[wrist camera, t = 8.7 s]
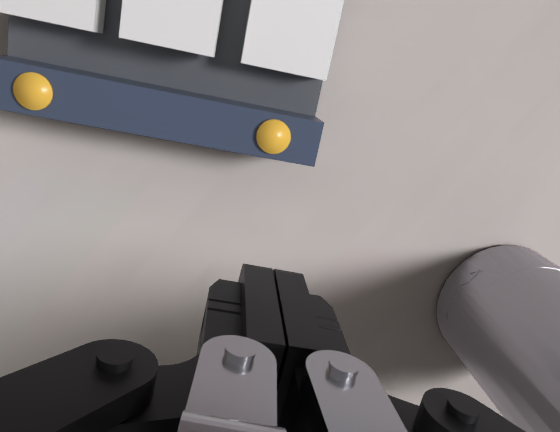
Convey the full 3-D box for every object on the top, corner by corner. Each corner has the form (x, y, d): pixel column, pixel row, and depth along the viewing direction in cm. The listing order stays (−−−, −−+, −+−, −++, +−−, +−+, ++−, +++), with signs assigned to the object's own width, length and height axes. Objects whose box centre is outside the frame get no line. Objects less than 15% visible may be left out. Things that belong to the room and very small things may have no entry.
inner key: (338, -7, 27) (346, -12, 25) (319, 78, 28) (326, 81, 26) (255, -27, 26) (257, -34, 24) (240, 62, 28) (240, 62, 26)
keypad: (345, -53, 28) (369, -75, 23) (300, 153, 32) (313, 171, 27) (31, -132, 26) (-16, -176, 21) (19, 101, 29) (-23, 110, 24)
